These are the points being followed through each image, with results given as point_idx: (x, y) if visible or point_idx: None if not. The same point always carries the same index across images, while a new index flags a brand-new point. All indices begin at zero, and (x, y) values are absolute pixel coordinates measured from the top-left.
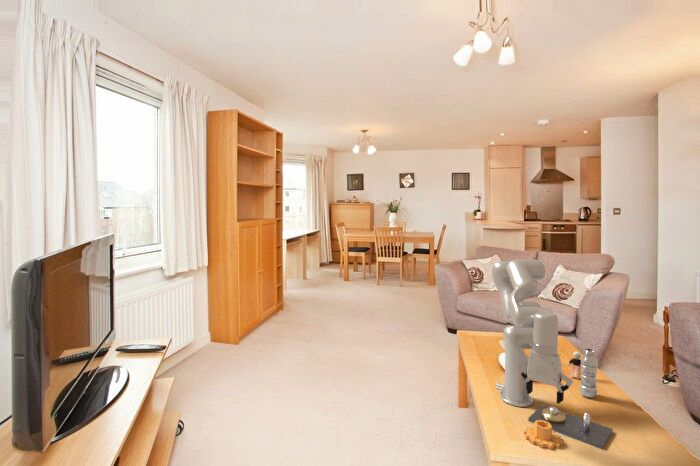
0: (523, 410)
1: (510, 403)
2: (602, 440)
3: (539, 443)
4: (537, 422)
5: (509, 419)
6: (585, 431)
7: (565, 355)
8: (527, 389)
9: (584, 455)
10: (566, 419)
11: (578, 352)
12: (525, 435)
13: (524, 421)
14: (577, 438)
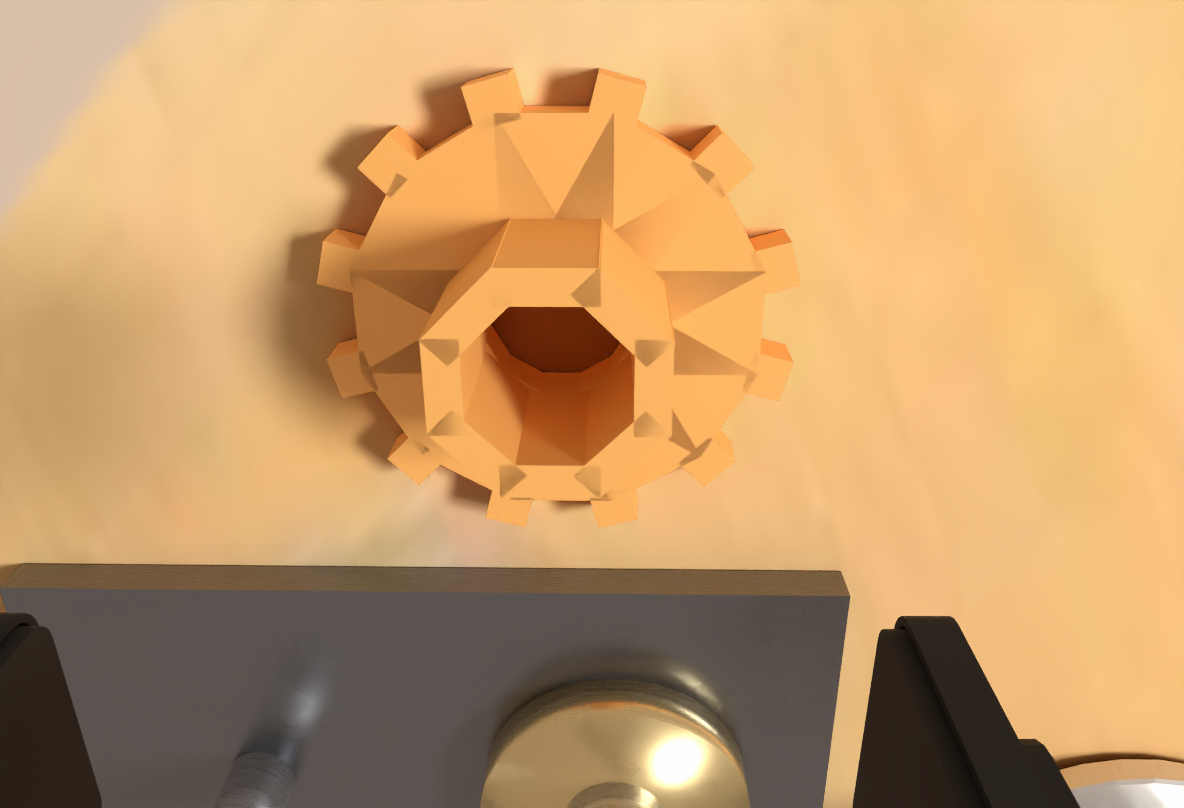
0: None
1: (1140, 769)
2: None
3: (509, 85)
4: (634, 383)
5: (1057, 446)
6: (248, 733)
7: None
8: (992, 711)
9: (68, 313)
10: None
11: None
12: (740, 152)
13: (877, 530)
14: (266, 575)
